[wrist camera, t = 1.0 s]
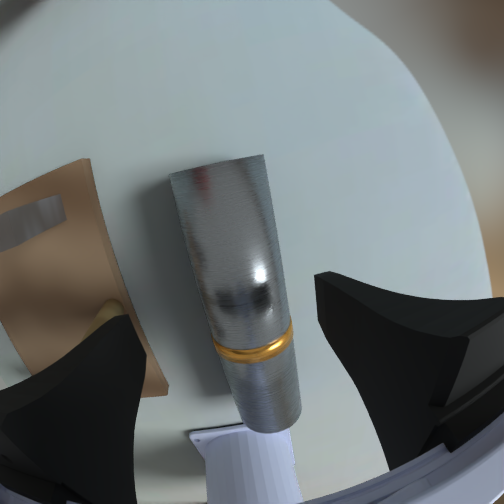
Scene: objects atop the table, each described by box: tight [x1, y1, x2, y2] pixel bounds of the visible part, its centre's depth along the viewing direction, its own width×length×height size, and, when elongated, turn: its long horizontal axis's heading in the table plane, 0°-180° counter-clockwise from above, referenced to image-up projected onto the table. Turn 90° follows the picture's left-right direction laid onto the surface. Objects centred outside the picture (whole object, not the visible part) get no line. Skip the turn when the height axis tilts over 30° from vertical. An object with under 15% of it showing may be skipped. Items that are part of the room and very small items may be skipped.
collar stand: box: [0, 158, 169, 398], centre depth 12 cm, size 15×11×6 cm
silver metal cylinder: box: [169, 154, 302, 434], centre depth 14 cm, size 15×4×4 cm, turn 11°
